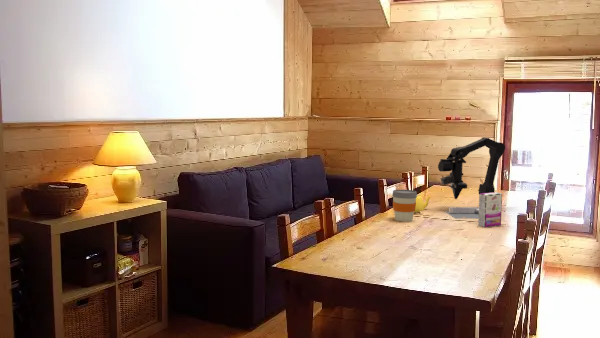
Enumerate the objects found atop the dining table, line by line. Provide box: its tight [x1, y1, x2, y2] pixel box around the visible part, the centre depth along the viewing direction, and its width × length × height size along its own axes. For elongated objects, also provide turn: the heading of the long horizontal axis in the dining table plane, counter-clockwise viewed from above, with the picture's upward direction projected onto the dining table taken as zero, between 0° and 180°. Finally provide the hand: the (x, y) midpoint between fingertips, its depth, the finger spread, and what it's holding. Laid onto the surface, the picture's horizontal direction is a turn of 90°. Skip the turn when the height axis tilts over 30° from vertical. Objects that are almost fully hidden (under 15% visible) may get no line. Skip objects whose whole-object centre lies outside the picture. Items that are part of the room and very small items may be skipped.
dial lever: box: [448, 206, 479, 214], centre depth 312 cm, size 18×5×3 cm, turn 93°
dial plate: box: [443, 210, 479, 220], centre depth 309 cm, size 20×20×2 cm
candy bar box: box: [477, 191, 503, 228], centre depth 288 cm, size 11×5×16 cm, turn 117°
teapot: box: [414, 195, 432, 214], centre depth 323 cm, size 14×13×10 cm
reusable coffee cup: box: [391, 189, 418, 223], centre depth 300 cm, size 12×13×15 cm
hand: (455, 199), depth 319 cm, fingers closed
